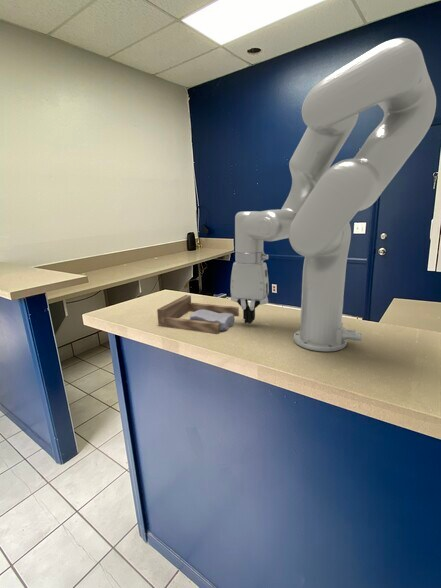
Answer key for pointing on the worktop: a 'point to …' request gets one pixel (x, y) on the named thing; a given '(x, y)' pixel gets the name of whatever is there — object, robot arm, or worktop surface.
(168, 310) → the brown u-shaped frame
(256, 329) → the worktop surface
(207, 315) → the stone block
